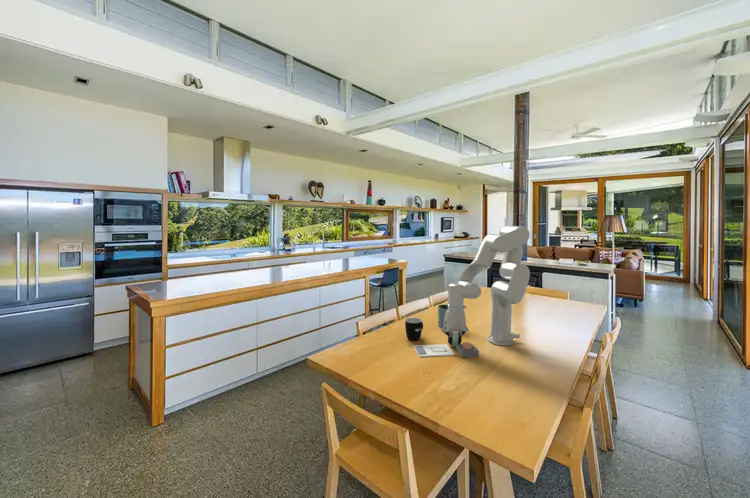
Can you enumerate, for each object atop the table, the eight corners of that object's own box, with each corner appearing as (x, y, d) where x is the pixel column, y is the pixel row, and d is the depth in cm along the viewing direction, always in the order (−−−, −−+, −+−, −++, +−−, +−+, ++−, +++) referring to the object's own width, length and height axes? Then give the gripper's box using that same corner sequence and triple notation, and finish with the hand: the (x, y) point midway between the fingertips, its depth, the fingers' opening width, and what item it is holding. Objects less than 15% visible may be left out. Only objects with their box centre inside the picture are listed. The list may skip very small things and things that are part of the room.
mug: (414, 343, 171) (414, 324, 170) (401, 338, 178) (401, 320, 177) (429, 337, 180) (429, 319, 178) (416, 333, 186) (416, 315, 185)
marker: (456, 344, 170) (457, 328, 169) (459, 347, 166) (460, 331, 165) (449, 344, 169) (450, 329, 168) (452, 347, 165) (452, 331, 165)
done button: (469, 348, 161) (470, 342, 161) (473, 352, 157) (473, 345, 157) (461, 348, 161) (461, 342, 160) (464, 352, 156) (464, 346, 156)
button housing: (471, 349, 163) (472, 343, 163) (478, 356, 155) (478, 350, 155) (456, 350, 162) (456, 344, 162) (461, 357, 155) (462, 351, 154)
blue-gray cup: (441, 322, 204) (442, 303, 203) (457, 325, 198) (458, 306, 197) (434, 327, 196) (434, 307, 194) (450, 330, 190) (451, 310, 188)
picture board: (446, 345, 169) (446, 343, 169) (454, 355, 157) (454, 353, 157) (413, 346, 167) (413, 344, 167) (419, 356, 155) (419, 354, 155)
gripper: (468, 305, 170) (467, 340, 172) (436, 306, 168) (436, 342, 170) (474, 310, 163) (473, 346, 165) (441, 311, 161) (440, 347, 163)
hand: (454, 343), depth 167 cm, fingers closed on marker, 3 cm apart
